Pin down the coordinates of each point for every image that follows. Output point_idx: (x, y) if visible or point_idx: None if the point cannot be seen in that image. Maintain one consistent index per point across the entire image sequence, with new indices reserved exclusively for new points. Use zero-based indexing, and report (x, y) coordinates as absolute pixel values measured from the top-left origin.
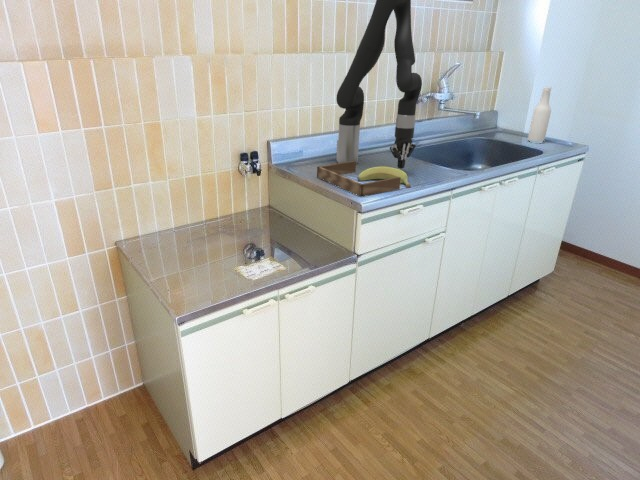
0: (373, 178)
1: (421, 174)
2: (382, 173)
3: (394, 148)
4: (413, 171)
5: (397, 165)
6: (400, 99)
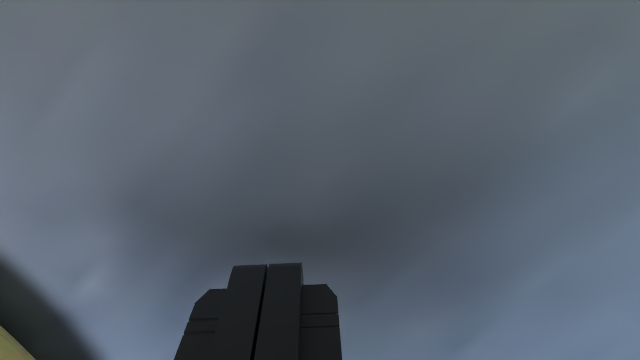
0: None
1: (576, 344)
2: None
3: None
4: (616, 186)
5: (196, 305)
6: None
